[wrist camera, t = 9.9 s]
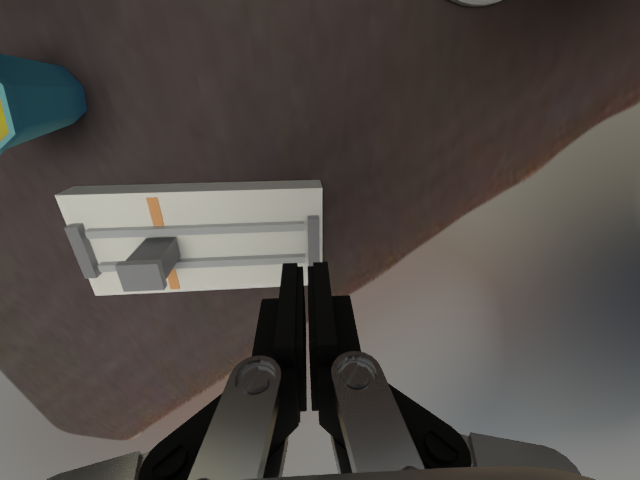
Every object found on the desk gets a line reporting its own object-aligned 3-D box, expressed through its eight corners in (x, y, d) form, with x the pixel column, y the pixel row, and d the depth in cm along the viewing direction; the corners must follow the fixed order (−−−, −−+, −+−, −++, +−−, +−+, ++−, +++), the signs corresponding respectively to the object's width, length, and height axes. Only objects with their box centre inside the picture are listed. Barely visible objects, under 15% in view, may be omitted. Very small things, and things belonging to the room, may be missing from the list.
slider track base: (320, 179, 35) (323, 191, 31) (320, 271, 40) (323, 289, 37) (73, 186, 33) (47, 198, 29) (109, 280, 38) (90, 301, 35)
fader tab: (178, 235, 33) (157, 264, 28) (183, 258, 34) (164, 289, 29) (142, 236, 33) (114, 265, 27) (149, 259, 34) (123, 291, 29)
